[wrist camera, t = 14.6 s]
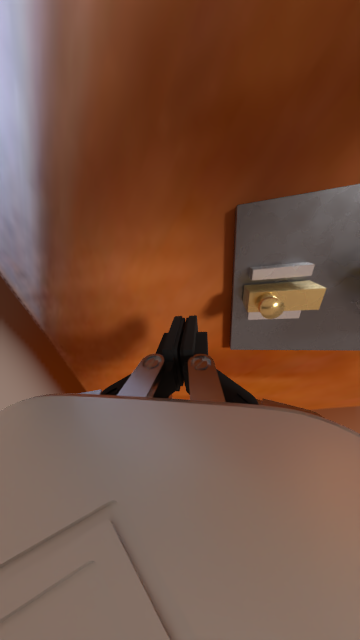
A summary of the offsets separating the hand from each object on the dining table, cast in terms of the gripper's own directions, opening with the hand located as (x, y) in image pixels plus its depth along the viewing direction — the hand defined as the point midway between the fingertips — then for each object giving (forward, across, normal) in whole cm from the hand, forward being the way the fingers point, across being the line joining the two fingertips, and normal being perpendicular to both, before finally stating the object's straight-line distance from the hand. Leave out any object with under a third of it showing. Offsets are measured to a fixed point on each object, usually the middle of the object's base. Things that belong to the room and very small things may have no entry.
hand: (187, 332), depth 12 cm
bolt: (+7, -8, 0) cm, 11 cm away
